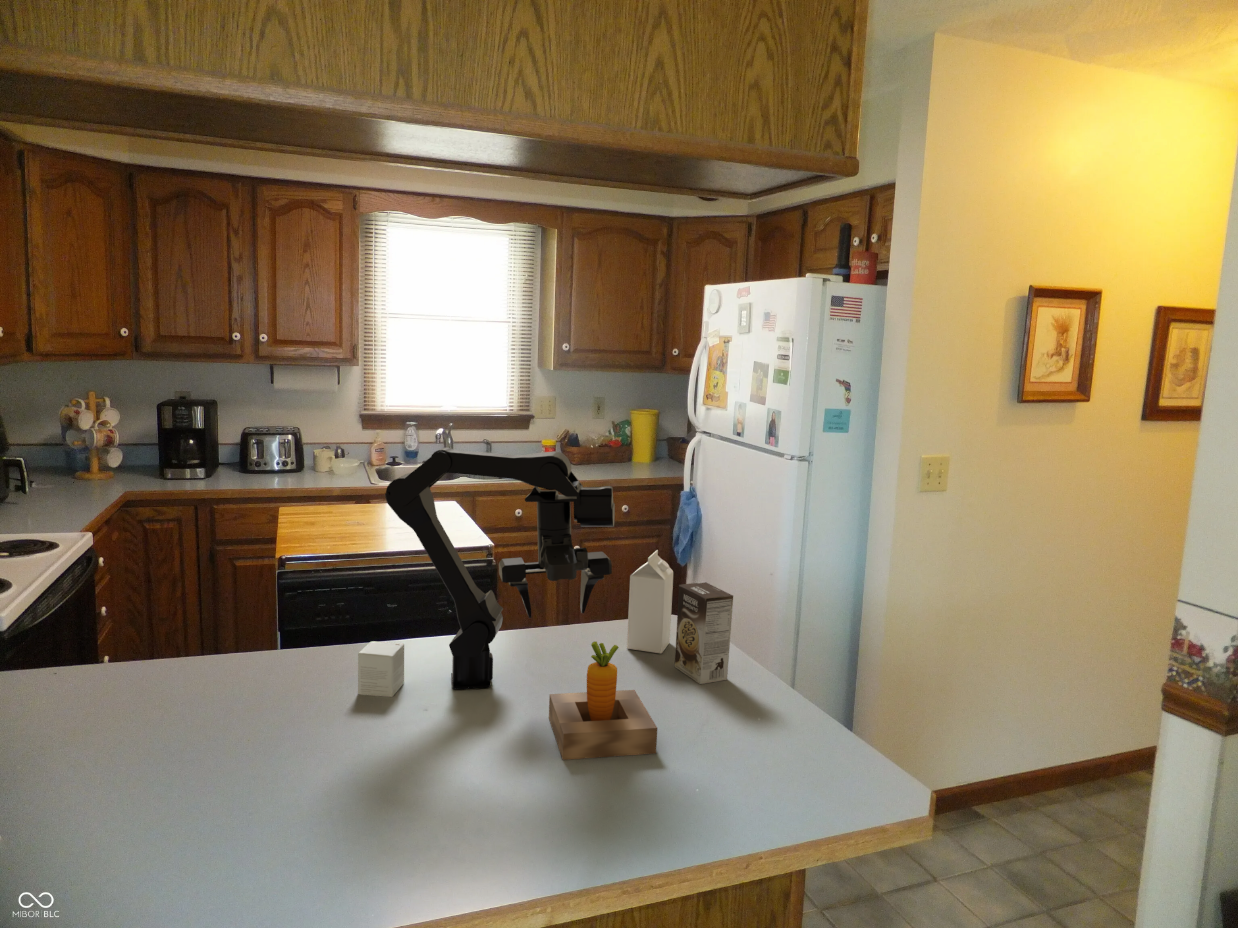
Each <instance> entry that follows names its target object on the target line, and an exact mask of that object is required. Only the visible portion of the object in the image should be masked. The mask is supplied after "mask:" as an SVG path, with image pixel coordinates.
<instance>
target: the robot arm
mask: <svg viewBox="0 0 1238 928" xmlns="http://www.w3.org/2000/svg"><path fill="white" fill-rule="evenodd" d="M446 474H457V475H469V476H478V477H489V478H490V477H491V478H498V479H499V478H502V479H511V480H514V481H515V480H516V481H519V482H522V483H524V484H526V485H529V486H533V488H532V490H531V492H530V493H528V494H527V495H526V496H525V498H524V502H526V503H536V525H537V526H536V527H537V528H536V529H537V557H538V558H537V559H538V560H537V561H534V562H524V559H523V557H510V558H501V560H500V561H499V562H498V575H499V577H500V579H501V580H500V581H501V582H502V583H504V584H508V585H509V586H510V587H512V588H514V587H516V589H517V590H518V592H519V595H520V597H521V599H522V602H523V605H524V608H525V611H526V614H527V617H528V618H529V619H532V605H531V599H530V593H529V582H528V581H527V578H526V577H527V575H533V574H546V578H547V580H549V581H551V582H557V581H558V580H559V581H561V580H569V581H571V580H575V579H576V578H577V574H578V573H577V571H581V574H580V575H581V576H580V599H579V600H580V602H579V603H580V605H579V606H580V613H581V614H585V611H586V609H587V605H588V604H589V603H588V602H589V600H590V597H591V594H592V591H593V589H594V587H595V585H597V583H598V581H600V580H604V579H605V576H609V575H611V574H612V573H613V570H612V568H613V565H612V560H611V559H610V557H608V555H606V553H604V551H591V552H588V549H587V547H575V548H574V546H573V545H574V544H573V539H572V520H571V519H572V517H571V515H572V512H571V511H572V510H571V508H572V507H571V503H572V502H573V520H574V522H576V523H577V524H579V525H580V527H581V528H582V527H583V528H588V527H590V528H592V527H595V528H596V527H597V528H599V527H600V528H601V527H602V528H607V527H609V528H611V527H613V528H614V527H615V512H616V511H615V509H616V508H615V507H616V505H615V502H614V494H613V486H609V485H607V486H604V485H603V486H599V487H597V486H596V487H584V486H583V484H582V483H581V481H580V480H579V479H578V477H577V476H576V475H575V474H574V472H573V471H572V463H571V461H570V459H569V458H568V457H567V456H566V455H565V454H564V453H563V452H560V451H544V452H533V453H527V454H508V453H507V454H505V453H496V452H485V451H476V450H475V451H474V450H464V449H463V450H462V449H454V448H451V447H442V448H439V449H438V450H436V451H434V452H433V453H432V454H431V456H430V457H429V458H428V459H426V460H425V461H424V462H423V463H421V464H420V465H419V466H417V468H415V469H414V470H413V471H411V472H408V473H405V474H403V475H401V476H399V477H397V478H395V479H393V480H392V481H390V482H389V484H388V486H387V487H386V488H385V489H386V490H385V494H384V497H385V500H386V503H387V505H388V506H389V507H390V508H391V510H392V511H393V513H395V515H396V516H397V517H398V519H399V520H401V521H402V522H403V523H404V524H406V525H407V526H408V527H409V528H411V529H412V531H413V532H414V533H415V535H416V537H417V538H418V541H419V543H420V544H421V546H422V547H423V549H424V550H425V552H426V554H427V556H428V558H429V559H430V562H431V563H432V564H433V566H434V568H435V570H436V572H437V573H438V575H439V577H440V580H441V581H442V583H443V584H444V586H445V587H446V589H447V591H448V593H449V595H450V596H451V598H452V599H453V602H454V606H455V611H456V618H457V621H458V624H459V627H460V629H459V630H457V631H458V632H457V633H456V634H455V635H454V637H453V638H452V640H451V641H450V643H449V649H450V653H451V655H452V660H451V661H452V665H451V666H452V667H451V668H452V669H451V670H452V672H451V674H450V675H451V679H450V680H451V689H453V690H466V689H485V688H487V689H488V688H491V686H492V685H491V681H492V680H493V676H494V657H493V653H492V652H491V649H490V645H489V644H491V643H492V642H493V641H494V639H495V638H496V636H497V635H498V633H499V631H500V629H501V627H502V625H503V620H504V617H503V614H502V611H503V610H504V608H503V606H501V605H500V604H499V603H498V600H497V599H496V595H495V593H494V592H493V590H492V589H490V590H489V591H488V592H486V593H485V592H484V591H482V590H481V589H480V588H479V587H478V586H477V584H476V583H475V582H474V580H473V578H472V576H471V575H470V573H469V571H468V569H467V568H466V565H465V564H464V562H463V561H462V558H461V557H460V555H459V554H458V551H457V550H456V548H455V546H454V545H453V542H452V541H451V539H450V537H449V536H448V534H447V532H446V530H445V528H444V526H443V525H442V523H441V521H440V520H439V517H438V515H437V509H436V504H435V498H434V495H433V493H432V490H431V488H432V487H433V486H434V485H435V484H437V483H438V482H439V481H440V480H441V479H442V478H444V476H445V475H446ZM542 489H543V490H542ZM559 493H560V494H559Z"/></svg>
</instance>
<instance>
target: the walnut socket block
mask: <svg viewBox="0 0 1238 928" xmlns="http://www.w3.org/2000/svg"><path fill="white" fill-rule="evenodd" d="M548 704H549V705H548V719H549V722H550V726H551V728H552V732H553V735H554V738H555V742H556V744H557V747H558V750H559V753H560V757H561V759H562V761H566V760H580V759H581V760H583V759H594V758H609V757H623V756H624V757H625V756H638V755H652V754H653V755H654V754H656V753H657V743H658V741H657V740H658V727H657V725H656V723H655V721H654V720H653V718H652V716H651V715H650V712H649V711H648V710H647V708H646V706H645V705H644V703H643V702H642V700H641V698H640V696H639V695H638V693H637V691H636V689H625V690H624V689H623V690H616V696H615V703H614V708H613V712H612V716H611V719H610V720H603V721H591V718H590V715H589V709H588V702H587V691H585V692H584V691H583V692H568V693H567V692H566V693H565V692H564V693H562V692H561V693H550V694H549V699H548Z"/></svg>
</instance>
